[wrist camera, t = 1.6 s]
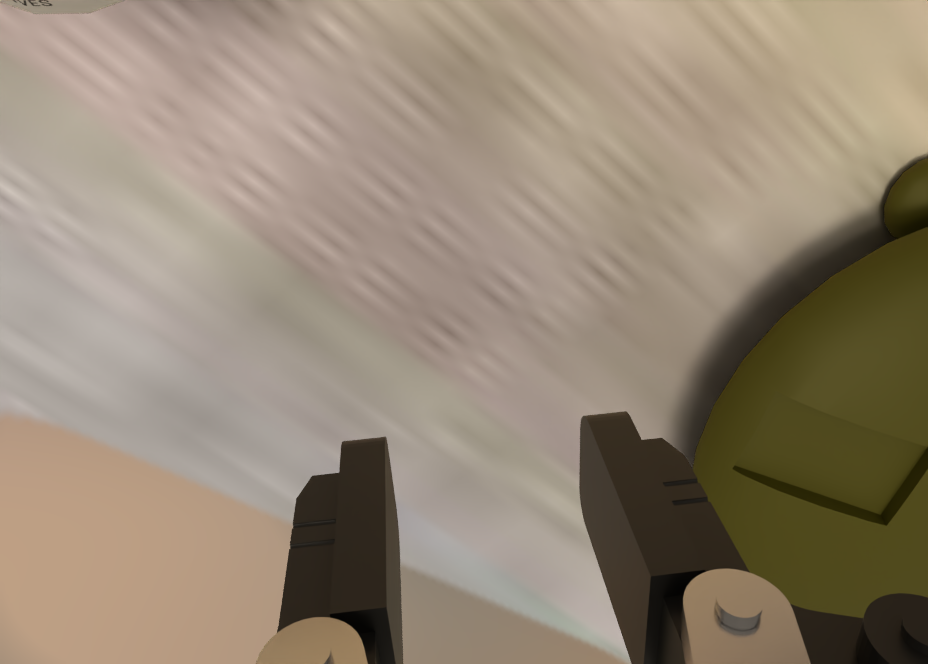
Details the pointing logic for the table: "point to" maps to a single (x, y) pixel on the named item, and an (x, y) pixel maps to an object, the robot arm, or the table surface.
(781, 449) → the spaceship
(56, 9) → the supplement can
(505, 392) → the table surface
